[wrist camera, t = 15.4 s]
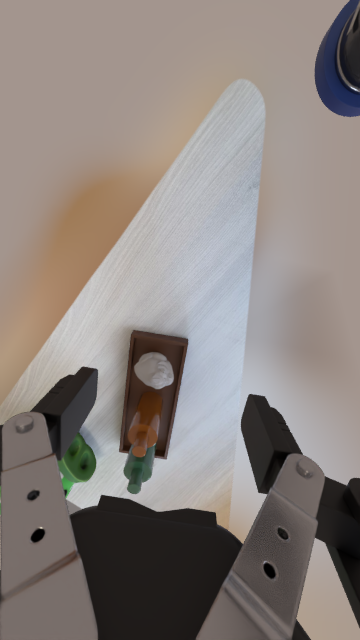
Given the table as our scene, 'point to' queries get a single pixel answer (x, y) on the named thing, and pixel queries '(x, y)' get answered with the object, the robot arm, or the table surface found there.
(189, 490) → the table surface
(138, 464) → the green bottle
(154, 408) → the amber bottle
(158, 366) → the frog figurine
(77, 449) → the piggy bank
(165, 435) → the tray
